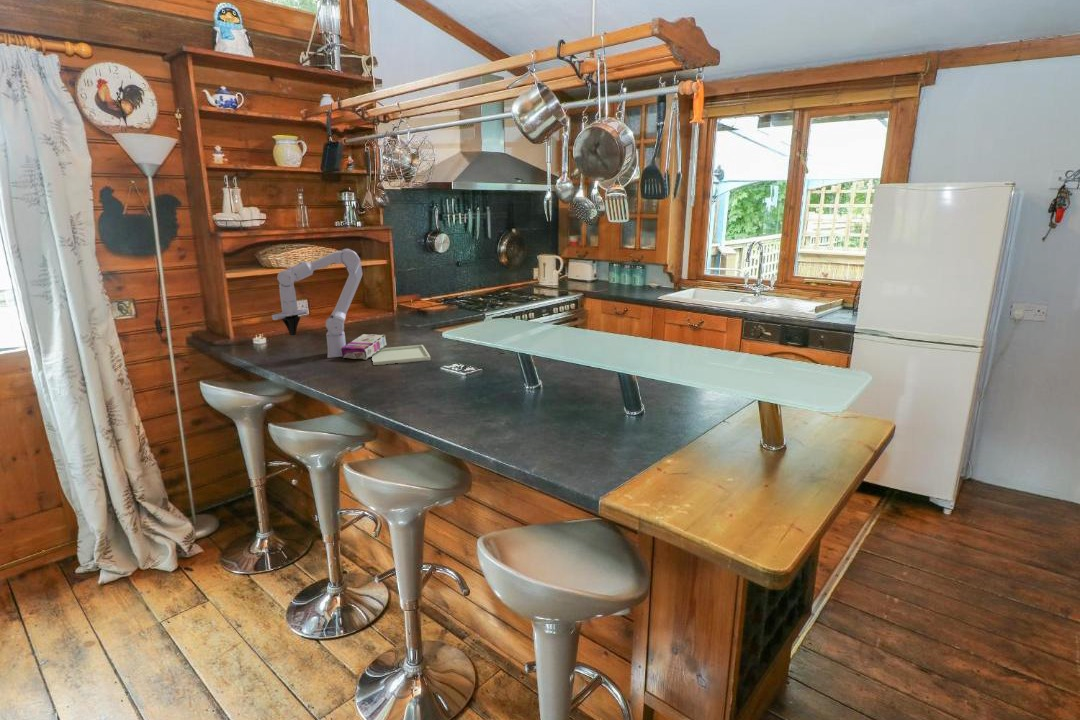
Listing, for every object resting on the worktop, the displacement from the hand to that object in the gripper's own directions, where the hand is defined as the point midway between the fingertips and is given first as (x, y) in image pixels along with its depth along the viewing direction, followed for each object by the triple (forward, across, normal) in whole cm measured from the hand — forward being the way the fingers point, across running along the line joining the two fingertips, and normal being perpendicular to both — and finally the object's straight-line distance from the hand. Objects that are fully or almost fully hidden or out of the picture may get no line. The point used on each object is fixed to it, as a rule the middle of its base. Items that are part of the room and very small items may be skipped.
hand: (292, 334), depth 235 cm
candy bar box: (+8, +12, -20) cm, 25 cm away
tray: (+10, +26, -32) cm, 43 cm away
